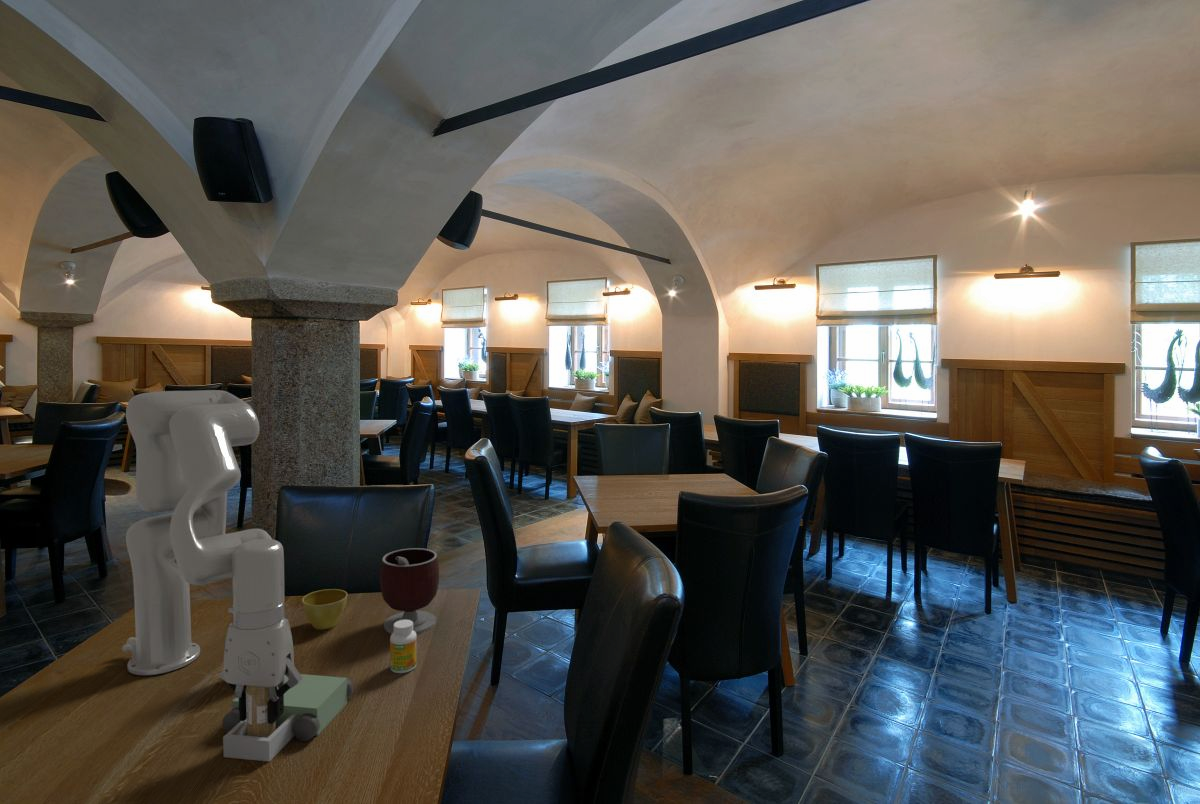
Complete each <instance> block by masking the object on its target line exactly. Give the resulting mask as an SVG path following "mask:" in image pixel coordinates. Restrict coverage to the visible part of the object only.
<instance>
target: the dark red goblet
mask: <svg viewBox="0 0 1200 804" xmlns="http://www.w3.org/2000/svg"><path fill="white" fill-rule="evenodd" d="M437 556H438V553H437V551H435V550H432V549H429V548H420V547H417V548H416V547H415V548H414V547H412V548H411V547H410V548H402V549H398V550H394V551H391V552H388V553H386V554H385V555H383V557H382V563H381V567H380V572H379V585H380V590H381V592H380V593H381V596H382V598H383V600H384V602H385V603H386V604H387V605H388V607H390V609H392V610H395V611H398V613H395V614H393V615H391V616H389V617H388V618H386V620H385V621H384V623H383V628H384V631H385V632H386V633H389V634H391V635H392V633H394V630H393V627H394V623H395V622H397V621H399V620H411V621H412V622H413V631H415V632H416V635H418V634H421V632H422V633H424V631H425V632H427V631H429V630H431V629H433V627H434V626H435V625H436V622H437V618H436V616H435V614H433V613H431V612H428V611H423V610H421V609H423V608H425V607H427V606H428V605H429V604H431V602H432V601H433V599H435V596H437V592H438V589H439V584H440V567H439V565H440V564H439V560H438V559H439V558H438V557H437ZM399 611H400V612H399ZM430 628H431V629H430Z"/></svg>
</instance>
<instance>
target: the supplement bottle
mask: <svg viewBox="0 0 1200 804" xmlns="http://www.w3.org/2000/svg"><path fill="white" fill-rule="evenodd" d="M393 630H394V633H392V634H391V635H390V637H389V666H390V667H389V668H390V670H391V672H393V673H396V674H406V673H408V672H411V671H414V669H416V667H417V641H418V639H417V638H418V637H417V634H416V632H415V631H413V622H412V621H411V620H399V621H397V622H395V623H394V627H393Z"/></svg>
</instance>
